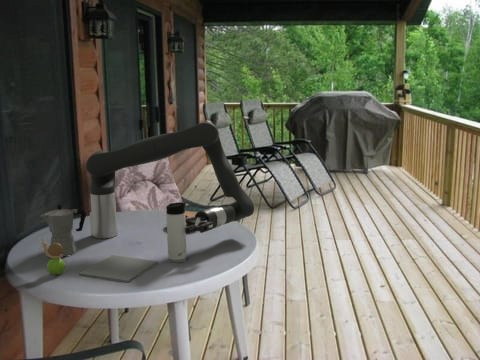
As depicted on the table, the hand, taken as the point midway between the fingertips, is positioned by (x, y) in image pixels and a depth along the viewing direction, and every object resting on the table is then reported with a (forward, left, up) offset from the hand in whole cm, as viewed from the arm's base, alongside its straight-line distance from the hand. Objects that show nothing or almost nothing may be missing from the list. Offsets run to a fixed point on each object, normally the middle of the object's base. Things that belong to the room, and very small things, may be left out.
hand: (177, 228), depth 183 cm
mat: (-14, -14, -11) cm, 23 cm away
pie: (-15, +36, -11) cm, 40 cm away
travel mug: (0, 0, -11) cm, 11 cm away
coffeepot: (-41, -7, -11) cm, 43 cm away
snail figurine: (-31, -25, -11) cm, 42 cm away
